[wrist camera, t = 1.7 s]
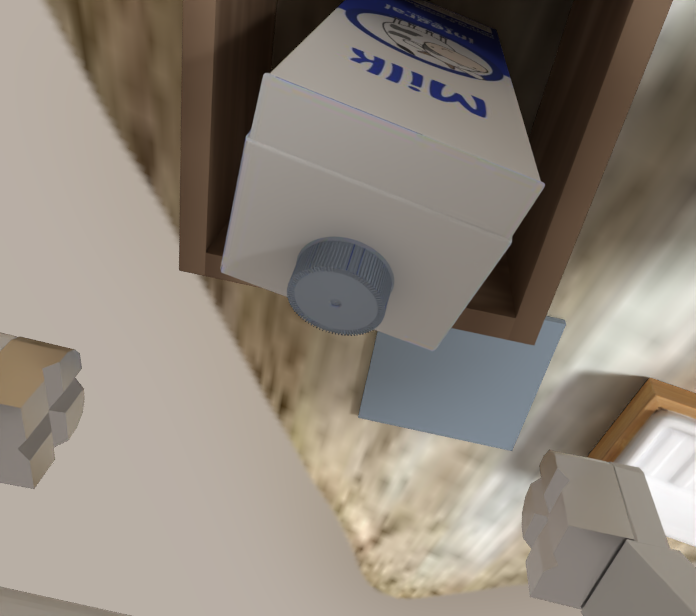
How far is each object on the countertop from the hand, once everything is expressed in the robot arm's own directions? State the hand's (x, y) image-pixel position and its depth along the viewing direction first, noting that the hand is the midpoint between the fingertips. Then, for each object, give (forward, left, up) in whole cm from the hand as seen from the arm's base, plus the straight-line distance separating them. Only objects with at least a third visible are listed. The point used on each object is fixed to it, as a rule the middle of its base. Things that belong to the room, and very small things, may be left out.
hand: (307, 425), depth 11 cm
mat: (-7, +18, -26) cm, 33 cm away
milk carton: (0, 0, -27) cm, 27 cm away
